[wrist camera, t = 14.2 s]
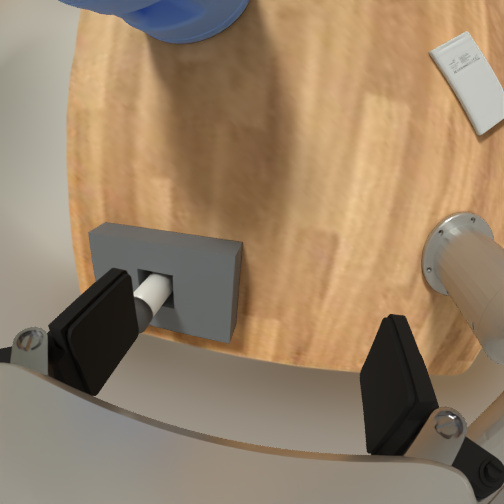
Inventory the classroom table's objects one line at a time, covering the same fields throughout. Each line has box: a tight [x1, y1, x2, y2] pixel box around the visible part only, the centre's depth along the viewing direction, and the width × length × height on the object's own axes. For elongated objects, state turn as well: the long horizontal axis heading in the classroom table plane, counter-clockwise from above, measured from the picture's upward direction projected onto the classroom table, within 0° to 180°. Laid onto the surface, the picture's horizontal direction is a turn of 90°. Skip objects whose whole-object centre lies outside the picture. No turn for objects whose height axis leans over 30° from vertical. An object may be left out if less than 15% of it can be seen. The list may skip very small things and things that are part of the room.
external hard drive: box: [428, 31, 504, 135], centre depth 25 cm, size 2×8×12 cm
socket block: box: [88, 222, 243, 343], centre depth 42 cm, size 22×14×4 cm, turn 85°
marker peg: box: [134, 272, 173, 333], centre depth 39 cm, size 4×4×12 cm
